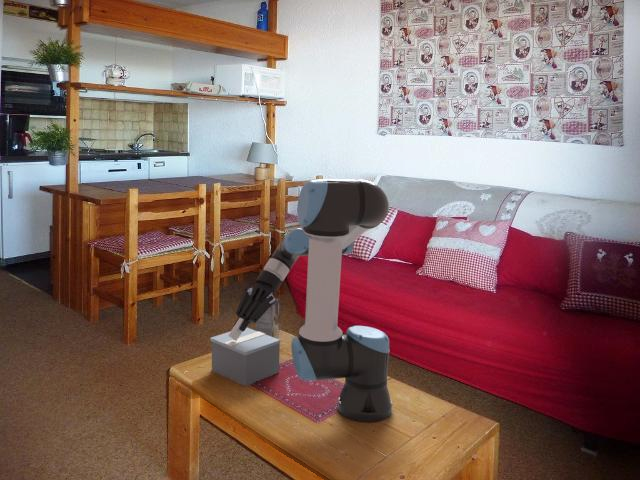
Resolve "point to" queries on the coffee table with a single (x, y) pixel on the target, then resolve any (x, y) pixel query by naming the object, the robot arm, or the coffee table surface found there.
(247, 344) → the lid
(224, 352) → the block
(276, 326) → the coffee box
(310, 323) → the robot arm
